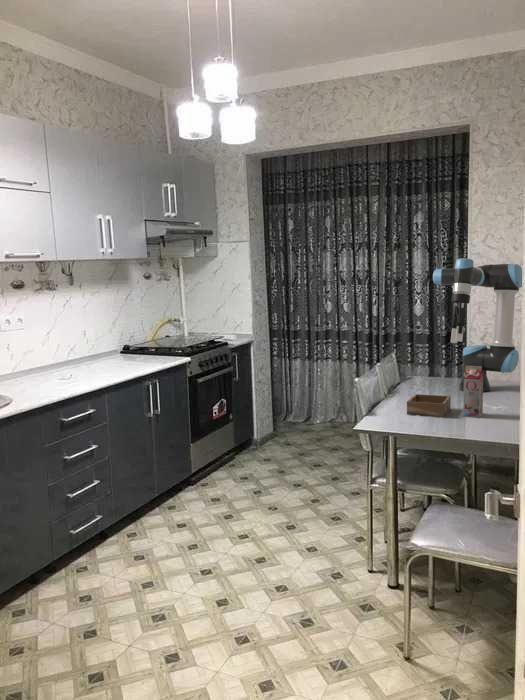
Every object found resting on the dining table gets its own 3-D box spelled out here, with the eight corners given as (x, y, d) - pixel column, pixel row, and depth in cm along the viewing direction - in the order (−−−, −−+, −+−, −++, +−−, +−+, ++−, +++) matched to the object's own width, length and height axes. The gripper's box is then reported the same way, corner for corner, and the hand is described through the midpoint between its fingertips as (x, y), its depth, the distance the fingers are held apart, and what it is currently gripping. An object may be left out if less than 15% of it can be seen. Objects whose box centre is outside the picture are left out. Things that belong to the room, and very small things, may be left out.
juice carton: (479, 418, 253) (479, 367, 250) (463, 416, 257) (463, 366, 253) (482, 414, 259) (483, 365, 255) (467, 412, 262) (467, 364, 259)
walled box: (415, 406, 277) (415, 394, 276) (450, 409, 270) (450, 396, 269) (406, 414, 263) (406, 401, 262) (443, 417, 256) (443, 404, 255)
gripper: (448, 296, 271) (443, 342, 270) (457, 289, 246) (451, 339, 246) (465, 298, 270) (460, 344, 269) (475, 291, 245) (470, 341, 245)
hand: (456, 342), depth 258 cm, fingers open, 13 cm apart
